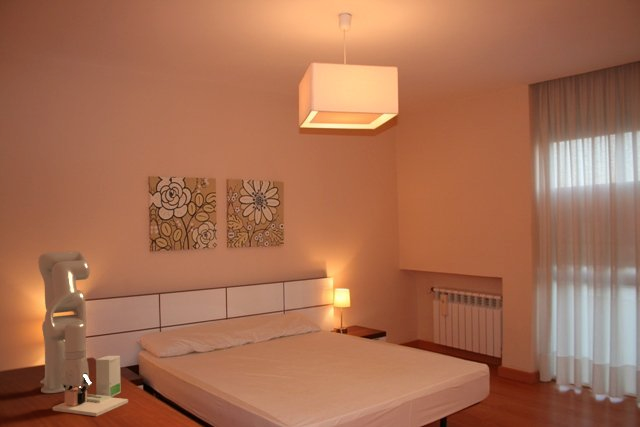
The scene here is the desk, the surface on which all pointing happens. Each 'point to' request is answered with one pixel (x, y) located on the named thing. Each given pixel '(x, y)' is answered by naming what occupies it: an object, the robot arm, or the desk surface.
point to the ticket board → (92, 405)
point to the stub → (73, 396)
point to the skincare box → (108, 376)
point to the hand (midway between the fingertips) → (75, 401)
